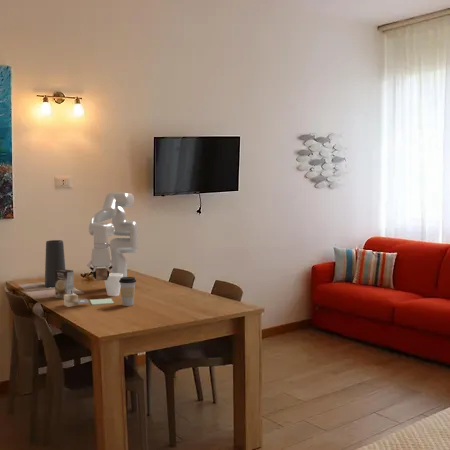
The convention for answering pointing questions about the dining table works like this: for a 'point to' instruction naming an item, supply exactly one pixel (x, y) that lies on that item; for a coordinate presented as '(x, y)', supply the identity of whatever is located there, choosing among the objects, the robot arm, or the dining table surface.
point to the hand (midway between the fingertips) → (101, 277)
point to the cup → (113, 284)
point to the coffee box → (63, 283)
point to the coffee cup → (127, 290)
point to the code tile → (83, 301)
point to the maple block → (70, 300)
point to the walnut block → (101, 274)
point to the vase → (53, 260)
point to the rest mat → (101, 301)
